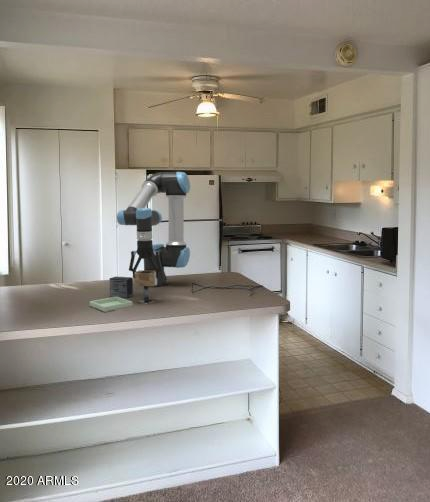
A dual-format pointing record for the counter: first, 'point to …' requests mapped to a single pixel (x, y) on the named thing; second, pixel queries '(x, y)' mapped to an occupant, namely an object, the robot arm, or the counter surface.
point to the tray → (110, 304)
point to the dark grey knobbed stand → (146, 296)
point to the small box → (121, 287)
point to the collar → (144, 278)
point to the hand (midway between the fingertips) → (146, 284)
